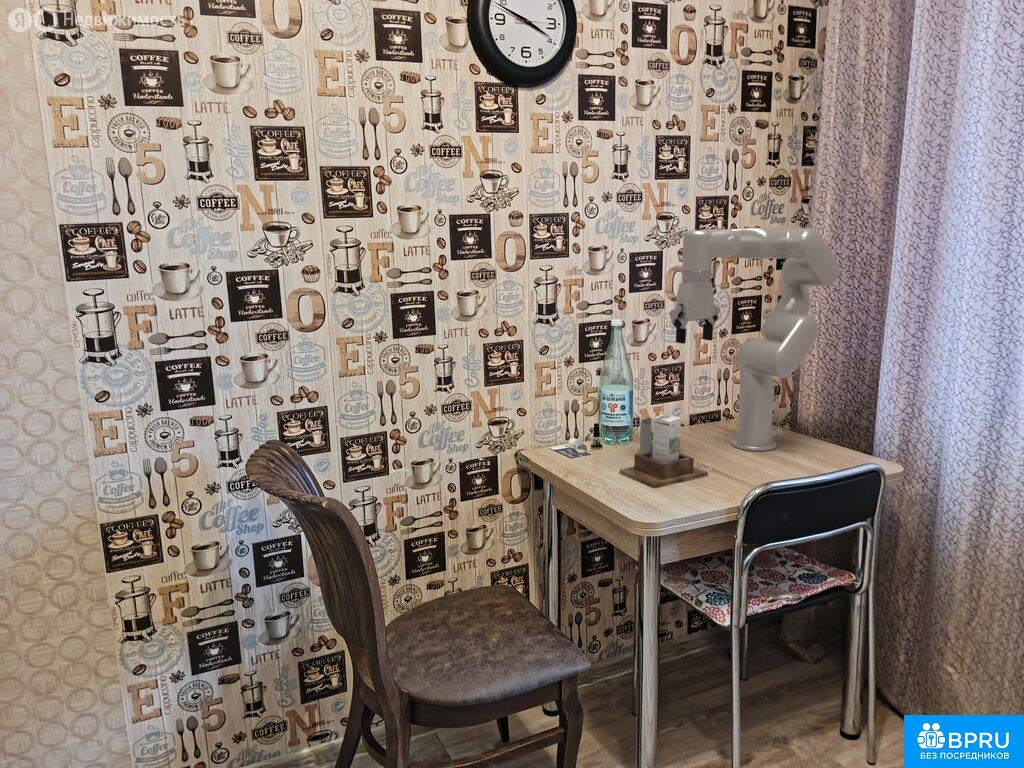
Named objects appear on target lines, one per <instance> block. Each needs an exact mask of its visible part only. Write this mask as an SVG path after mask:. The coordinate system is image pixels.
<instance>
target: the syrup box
mask: <svg viewBox="0 0 1024 768" xmlns="http://www.w3.org/2000/svg"><path fill="white" fill-rule="evenodd" d="M651 418H652V419H651V437H650V459H653V460H656V461H658V462H661V463H665V462H669V461H674V460H679V453H680V450H681V449H680V447H681V446H680V445H681V431H682V430H681V429H682V428H681V424H682V418H681V417H678V416H676V415H672V414H665V413H664V414H663V413H662V414H660V415H657V416H655V417H651Z"/></svg>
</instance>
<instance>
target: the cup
mask: <svg viewBox="0 0 1024 768" xmlns="http://www.w3.org/2000/svg"><path fill="white" fill-rule="evenodd" d="M652 418H653V417H650V418H649V417H648V418H643V419H641V420H640V431H639V433H640V435H639V436H640V437H639V453H644V452H649V451H650V437H651V419H652Z"/></svg>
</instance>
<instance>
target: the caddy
mask: <svg viewBox="0 0 1024 768" xmlns="http://www.w3.org/2000/svg"><path fill="white" fill-rule="evenodd" d="M633 460H634V462H633V463H634V465H633V466H630V467H625V468H620V469H619V474H621V475H623V476H625V477H627V478H630V479H632V480H634V481H636V482H638V483H641V484H644V485H646V486H649V487H650V488H653V489H658V488H661V486H662V487H666V486H670V485H669V484H671V485H675V484H679V483H683V482H687V480H688V481H692V480H695V478H696V479H699V477H700V478H704V476H705V477H708V476H709V472H708V471H706V470H703V469H700V468H698V467H695V466H694V464H695V463H694V462H695V461H694V460H695V458H694V457H692V456H689V455H686V454H683V453H681V452H679V460H674V461H669V462H665V463H661V462H658V461H656V460H653V459H650V451H649V452H644V453H640V452H639V453H635V454H634V459H633ZM691 479H692V480H691ZM678 482H679V483H678ZM674 483H675V484H674ZM665 485H666V486H665ZM657 487H658V488H657Z"/></svg>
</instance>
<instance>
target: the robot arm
mask: <svg viewBox="0 0 1024 768" xmlns="http://www.w3.org/2000/svg"><path fill="white" fill-rule="evenodd" d="M713 258H718V259H719V258H722V259H723V258H725V259H726V258H739V259H747V260H748V259H749V260H750V259H751V260H752V259H753V260H760V259H763V260H764V259H773V260H775V259H779V260H780V259H786V260H785V261H784V263H783V265H782V267H781V276H782V277H781V278H782V283H783V284H782V287H783V291H782V292H783V293H782V296H781V298H780V299H779V301H778V302H777V303H776V305H775V307H774V308H773V309H772V311H770V313H769V315H768V316H767V317H766V318H765V320H764V322H763V323H762V326H761V330H760V331H761V335H762V338H750V339H747V340H745V341H744V342H743V343H741V344H740V346H739V347H738V350H737V365H738V371H739V393H738V394H739V395H738V415H737V417H738V418H737V436H735V437H733V438H732V439H731V446H733V447H735V448H737V449H740V450H746V451H751V452H752V451H753V452H754V451H755V452H766V451H771V450H774V449H776V448H777V442H776V441H775V440H774V438H775V437H778V436H781V435H782V434H783V431H782V430H781V429H780V428H778V429H773V412H774V411H773V409H774V394H775V387H774V381H773V378H772V376H773V377H780V378H781V377H782V378H785V377H788V376H790V375H792V373H794V372H795V371H796V369H797V368H798V367H799V366H800V364H801V363H802V362H803V360H804V359H805V357H806V356H807V355H808V353H809V351H810V350H811V349H812V347H813V346H814V344H815V343H816V341H817V339H818V338H817V337H818V334H819V326H818V325H819V324H818V322H817V319H816V318H814V316H812V315H811V314H808V312H809V310H810V307H811V299H810V296H809V291H808V288H807V286H811V287H812V286H813V287H829V286H831V285H833V284H835V283H836V281H837V280H838V278H839V276H840V265H839V262H838V260H837V258H836V256H835V255H834V253H833V252H832V250H831V249H830V247H829V246H828V244H827V243H826V241H825V240H824V238H823V237H822V236H821V235H820V233H818V232H817V231H816V230H815V229H813V228H808V227H803V228H802V227H797V228H794V227H793V228H792V227H789V228H788V227H787V228H786V227H785V228H784V227H783V228H782V227H781V228H780V227H746V228H737V229H733V228H732V229H730V228H729V229H728V228H726V229H725V228H704V229H703V228H702V229H698V230H697V229H694V230H687V231H685V232H684V233H683V238H682V270H681V282H680V283H679V284H678V288H677V293H676V298H675V308H673V309H672V310H671V311H669V314H668V316H669V317H670V321H671V323H672V325H673V326H674V328H675V343H677V344H683V345H684V344H686V343H687V328H686V325H687V324H688V323H689V322H694V321H696V322H697V321H703V323H704V324H703V326H702V340H705V341H713V339H714V326H715V325H716V322H717V320H718V319H719V315H720V313H721V308H720V307H718V306H716V305H715V301H714V299H715V298H714V289H713V288H714V287H713V282H712V277H714V276H713V275H714V274H713V272H712V262H713V261H712V260H713ZM763 338H764V339H763Z"/></svg>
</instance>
